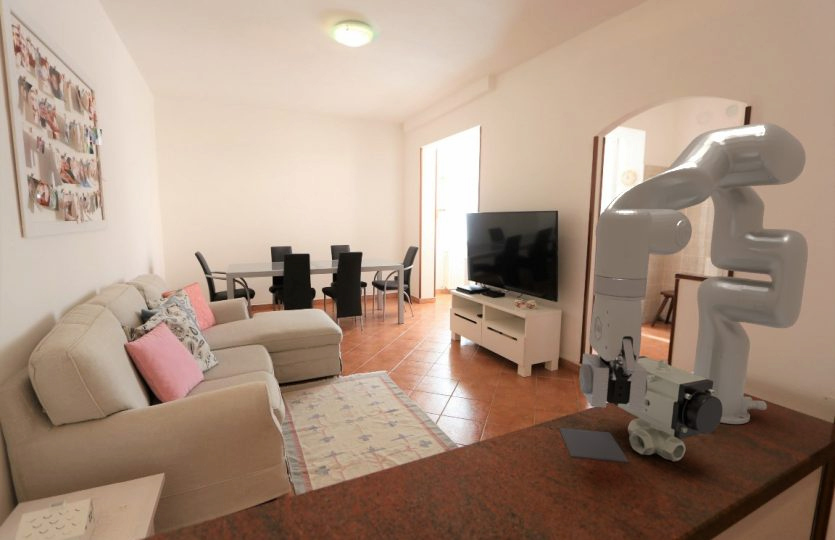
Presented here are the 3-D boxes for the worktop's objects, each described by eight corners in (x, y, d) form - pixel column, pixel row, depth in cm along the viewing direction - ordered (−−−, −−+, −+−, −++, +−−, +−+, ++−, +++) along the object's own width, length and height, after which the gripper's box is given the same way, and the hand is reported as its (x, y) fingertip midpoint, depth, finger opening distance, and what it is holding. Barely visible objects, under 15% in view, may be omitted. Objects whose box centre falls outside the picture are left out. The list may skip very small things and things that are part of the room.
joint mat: (609, 433, 82) (609, 432, 81) (628, 462, 72) (628, 461, 72) (559, 429, 83) (559, 427, 83) (570, 457, 73) (571, 455, 73)
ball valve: (597, 430, 83) (604, 348, 80) (628, 424, 86) (635, 344, 83) (682, 484, 66) (693, 382, 64) (716, 474, 69) (728, 376, 67)
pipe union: (631, 392, 69) (634, 356, 68) (647, 410, 62) (651, 370, 61) (577, 389, 70) (579, 353, 69) (587, 406, 63) (590, 367, 63)
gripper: (580, 278, 72) (574, 374, 75) (613, 296, 56) (603, 418, 58) (624, 279, 71) (616, 376, 74) (670, 298, 55) (658, 422, 57)
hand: (610, 394), depth 66 cm, fingers closed on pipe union, 4 cm apart
